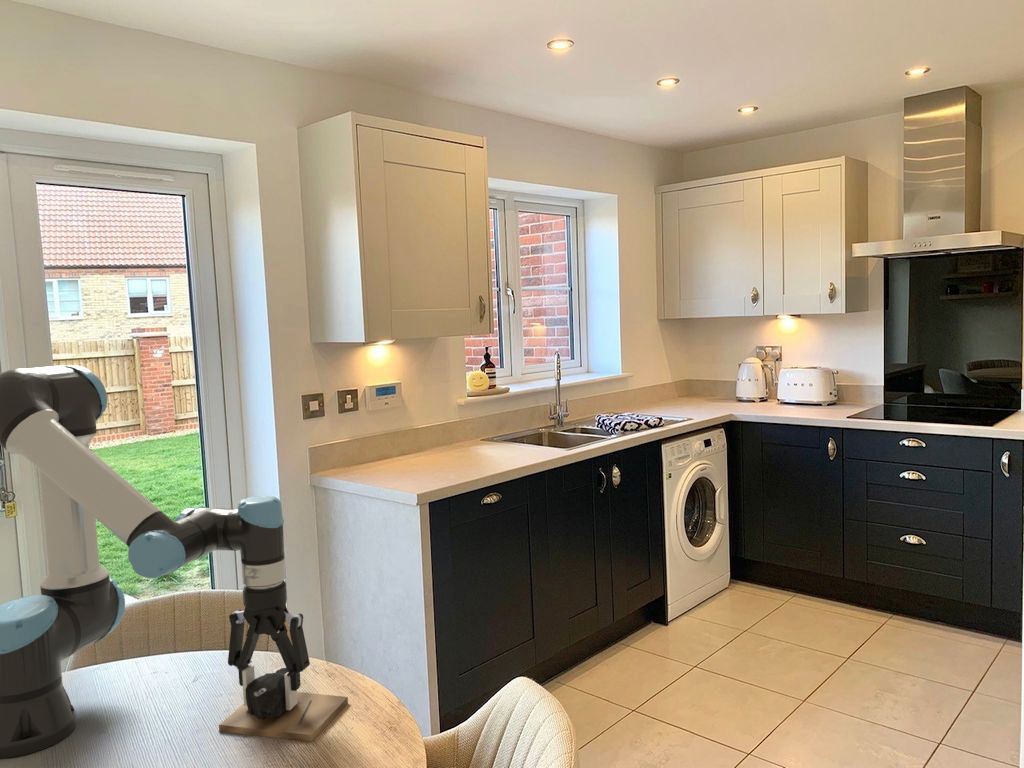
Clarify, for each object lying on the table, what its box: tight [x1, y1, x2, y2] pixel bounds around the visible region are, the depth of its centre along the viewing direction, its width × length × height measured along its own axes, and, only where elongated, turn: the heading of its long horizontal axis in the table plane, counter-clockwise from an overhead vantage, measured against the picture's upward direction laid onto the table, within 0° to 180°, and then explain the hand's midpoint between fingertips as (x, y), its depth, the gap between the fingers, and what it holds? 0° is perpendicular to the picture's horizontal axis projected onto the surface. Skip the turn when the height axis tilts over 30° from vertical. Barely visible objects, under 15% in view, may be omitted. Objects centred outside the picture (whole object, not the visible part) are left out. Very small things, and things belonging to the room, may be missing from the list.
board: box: [218, 691, 349, 743], centre depth 144 cm, size 18×14×1 cm
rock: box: [245, 667, 288, 719], centre depth 143 cm, size 9×10×6 cm
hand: (270, 704), depth 144 cm, fingers closed on rock, 8 cm apart
